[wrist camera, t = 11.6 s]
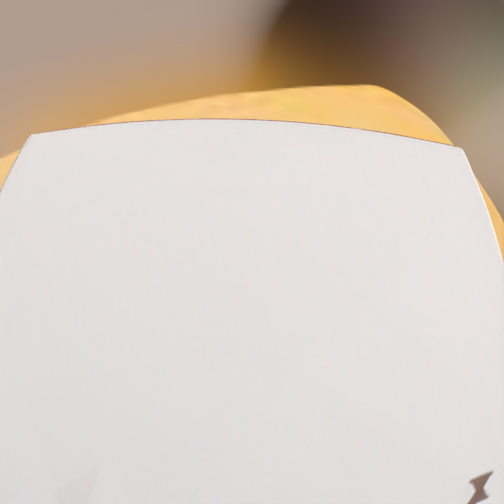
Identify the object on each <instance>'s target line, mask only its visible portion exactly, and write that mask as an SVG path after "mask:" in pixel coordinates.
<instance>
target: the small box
mask: <svg viewBox="0 0 504 504" xmlns="http://www.w3.org/2000/svg"><path fill="white" fill-rule="evenodd" d="M0 504H504V263H503V259H502V256H501V252H500V248H499V245H498V241H497V237H496V234H495V231H494V228H493V224H492V221H491V218H490V215H489V212H488V209H487V206H486V204H485V201H484V198H483V196H482V193H481V190H480V188H479V185H478V183H477V181H476V179H475V176H474V174H473V172H472V169H471V167H470V164H469V162H468V160H467V157H466V155H465V153H464V151H463V150H462V149H461V148H459V147H456V146H453V145H448V144H443V143H438V142H433V141H428V140H423V139H418V138H413V137H408V136H403V135H397V134H392V133H386V132H379V131H372V130H365V129H357V128H350V127H342V126H334V125H325V124H316V123H305V122H292V121H276V120H256V119H173V120H149V121H134V122H121V123H111V124H101V125H93V126H85V127H77V128H70V129H63V130H56V131H50V132H43V133H36V134H32V135H31V136H30V137H29V138H28V140H27V141H26V142H25V144H24V146H23V147H22V149H21V151H20V153H19V155H18V156H17V158H16V160H15V162H14V164H13V166H12V168H11V170H10V172H9V174H8V175H7V177H6V179H5V182H4V184H3V186H2V188H1V190H0Z"/></svg>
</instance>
